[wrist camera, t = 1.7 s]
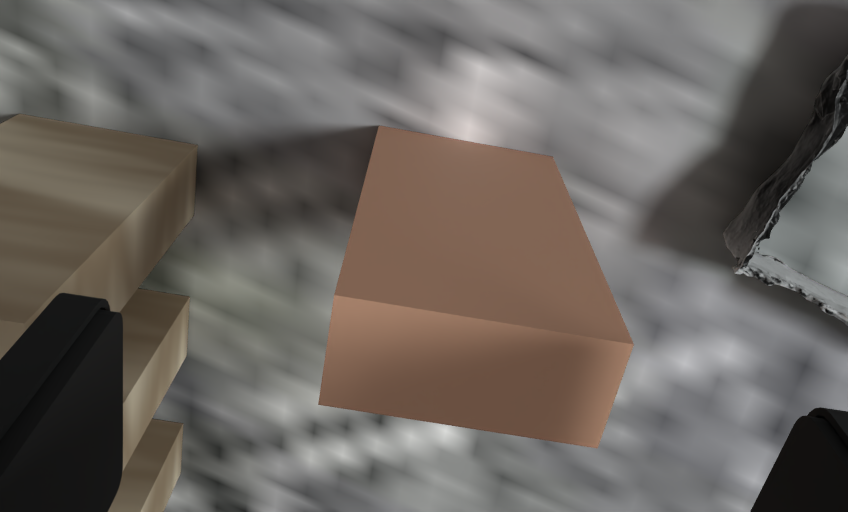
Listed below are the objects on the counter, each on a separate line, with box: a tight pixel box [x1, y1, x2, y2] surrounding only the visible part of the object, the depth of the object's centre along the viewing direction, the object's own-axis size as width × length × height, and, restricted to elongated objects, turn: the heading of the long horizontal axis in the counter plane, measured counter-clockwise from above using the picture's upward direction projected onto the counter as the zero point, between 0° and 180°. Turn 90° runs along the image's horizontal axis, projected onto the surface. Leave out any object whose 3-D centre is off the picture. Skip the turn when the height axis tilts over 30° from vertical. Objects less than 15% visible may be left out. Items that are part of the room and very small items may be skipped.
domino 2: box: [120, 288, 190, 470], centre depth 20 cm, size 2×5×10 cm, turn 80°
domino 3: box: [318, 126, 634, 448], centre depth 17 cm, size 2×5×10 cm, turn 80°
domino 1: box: [0, 114, 198, 359], centre depth 17 cm, size 2×5×10 cm, turn 80°
